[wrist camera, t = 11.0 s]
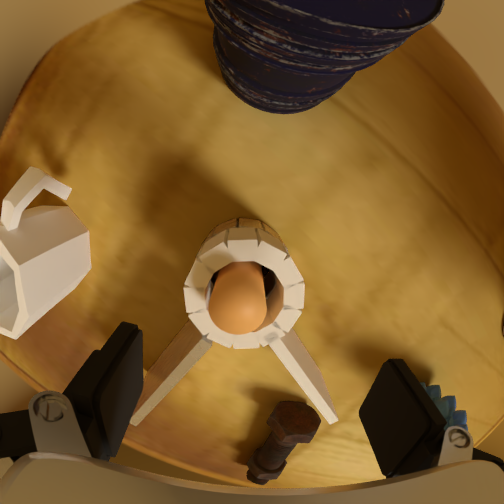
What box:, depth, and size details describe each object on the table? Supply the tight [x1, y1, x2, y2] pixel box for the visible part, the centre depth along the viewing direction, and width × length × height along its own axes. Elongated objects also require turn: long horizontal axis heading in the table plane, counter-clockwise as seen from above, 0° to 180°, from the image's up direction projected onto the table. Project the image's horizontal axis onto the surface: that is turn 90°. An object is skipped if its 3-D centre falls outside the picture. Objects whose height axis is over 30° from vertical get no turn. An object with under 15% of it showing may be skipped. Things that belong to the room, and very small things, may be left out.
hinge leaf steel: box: [129, 217, 288, 426], centre depth 21 cm, size 7×19×7 cm, turn 141°
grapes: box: [420, 382, 468, 431], centre depth 23 cm, size 12×7×12 cm, turn 69°
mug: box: [0, 166, 91, 339], centre depth 17 cm, size 12×9×10 cm
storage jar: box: [205, 0, 444, 114], centre depth 12 cm, size 10×10×15 cm
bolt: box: [247, 401, 321, 485], centre depth 28 cm, size 6×5×15 cm
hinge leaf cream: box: [184, 227, 339, 424], centre depth 21 cm, size 17×7×7 cm, turn 31°
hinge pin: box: [208, 261, 267, 335], centre depth 19 cm, size 3×3×9 cm
